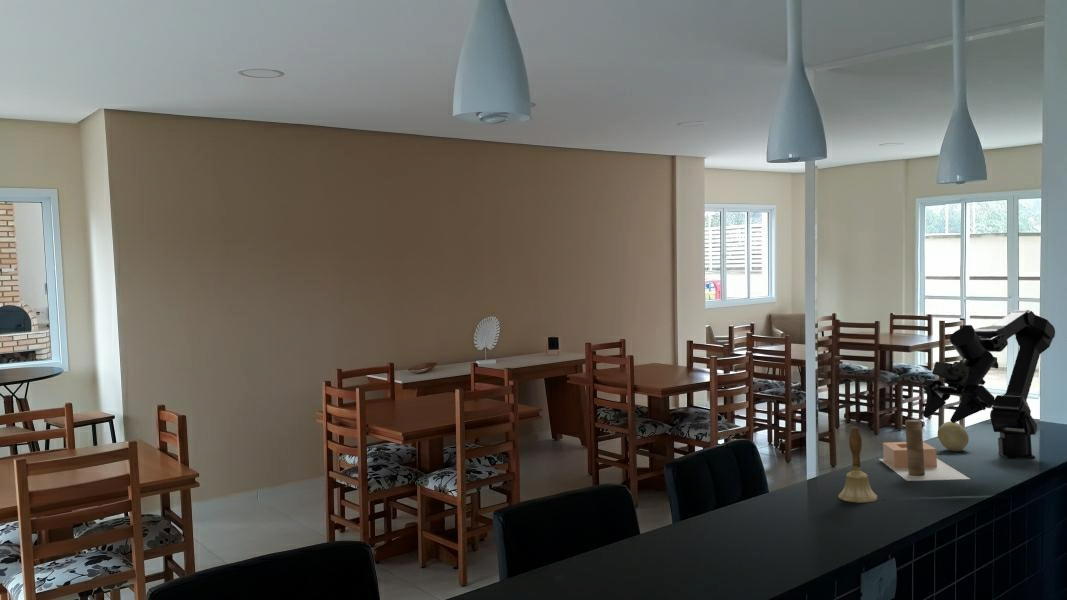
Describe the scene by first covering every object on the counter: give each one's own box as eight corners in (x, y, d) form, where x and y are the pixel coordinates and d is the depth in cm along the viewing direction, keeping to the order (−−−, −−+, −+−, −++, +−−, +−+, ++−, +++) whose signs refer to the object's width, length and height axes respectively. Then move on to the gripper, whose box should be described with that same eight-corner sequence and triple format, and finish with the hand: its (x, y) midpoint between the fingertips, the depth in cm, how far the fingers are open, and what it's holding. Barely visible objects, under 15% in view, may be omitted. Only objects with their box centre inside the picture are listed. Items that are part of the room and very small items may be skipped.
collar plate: (934, 458, 210) (933, 440, 210) (970, 480, 186) (969, 459, 186) (878, 460, 212) (877, 442, 212) (907, 482, 188) (905, 461, 188)
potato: (934, 452, 217) (932, 423, 217) (945, 447, 223) (943, 418, 223) (963, 455, 212) (961, 425, 212) (974, 449, 217) (972, 420, 217)
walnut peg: (922, 472, 195) (918, 419, 195) (927, 475, 191) (923, 421, 191) (906, 472, 195) (903, 420, 195) (911, 476, 192) (907, 422, 192)
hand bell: (871, 492, 182) (866, 423, 182) (883, 502, 174) (878, 429, 174) (833, 494, 183) (829, 425, 183) (844, 503, 175) (839, 431, 174)
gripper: (925, 347, 205) (890, 394, 203) (981, 351, 187) (944, 402, 184) (953, 375, 207) (919, 421, 204) (1011, 381, 189) (975, 433, 186)
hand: (937, 419), depth 195 cm, fingers open, 9 cm apart
